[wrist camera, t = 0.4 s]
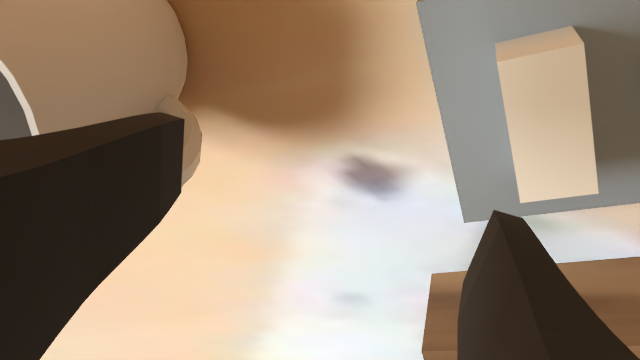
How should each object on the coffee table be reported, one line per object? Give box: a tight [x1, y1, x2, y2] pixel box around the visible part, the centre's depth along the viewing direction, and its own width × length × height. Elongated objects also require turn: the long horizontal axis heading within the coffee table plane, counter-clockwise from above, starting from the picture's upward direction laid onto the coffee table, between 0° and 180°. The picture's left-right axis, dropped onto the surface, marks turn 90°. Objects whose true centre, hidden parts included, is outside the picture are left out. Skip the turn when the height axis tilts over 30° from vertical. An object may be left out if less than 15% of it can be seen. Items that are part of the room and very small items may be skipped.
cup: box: [0, 0, 202, 187], centre depth 19 cm, size 7×10×9 cm
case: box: [422, 257, 640, 360], centre depth 20 cm, size 3×14×5 cm, turn 108°
